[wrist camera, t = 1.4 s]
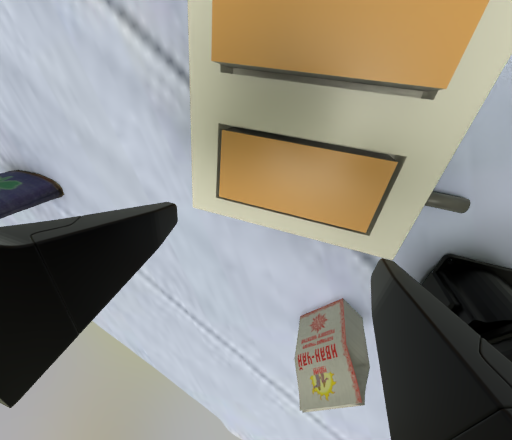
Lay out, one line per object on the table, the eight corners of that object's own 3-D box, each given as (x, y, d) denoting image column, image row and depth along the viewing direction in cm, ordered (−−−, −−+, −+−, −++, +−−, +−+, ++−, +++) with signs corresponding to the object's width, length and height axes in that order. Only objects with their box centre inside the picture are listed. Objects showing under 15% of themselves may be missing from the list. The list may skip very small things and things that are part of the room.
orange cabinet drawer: (388, 154, 17) (398, 162, 15) (361, 218, 20) (365, 233, 18) (234, 126, 19) (221, 129, 17) (230, 187, 22) (219, 196, 20)
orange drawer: (489, -50, 10) (535, -94, 8) (426, 91, 13) (446, 88, 11) (234, -53, 13) (213, -87, 10) (228, 67, 16) (211, 60, 13)
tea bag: (362, 317, 27) (377, 417, 18) (318, 333, 30) (313, 422, 22) (342, 298, 26) (349, 391, 18) (300, 316, 30) (288, 401, 21)
